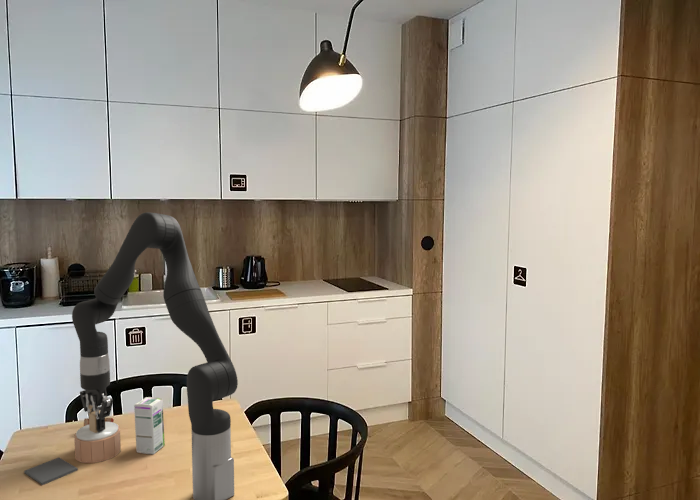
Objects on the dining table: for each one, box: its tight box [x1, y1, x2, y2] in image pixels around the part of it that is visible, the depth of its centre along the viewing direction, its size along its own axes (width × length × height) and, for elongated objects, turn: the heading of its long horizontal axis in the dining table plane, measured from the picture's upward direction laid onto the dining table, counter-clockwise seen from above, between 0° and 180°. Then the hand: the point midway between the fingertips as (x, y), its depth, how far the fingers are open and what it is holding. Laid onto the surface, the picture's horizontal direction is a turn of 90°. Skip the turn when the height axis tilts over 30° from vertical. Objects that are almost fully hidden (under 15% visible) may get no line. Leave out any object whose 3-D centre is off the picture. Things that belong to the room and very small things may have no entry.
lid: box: [76, 410, 119, 441], centre depth 150 cm, size 11×11×6 cm
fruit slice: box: [83, 417, 115, 427], centre depth 163 cm, size 8×7×5 cm
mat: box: [23, 457, 79, 486], centre depth 140 cm, size 10×9×1 cm
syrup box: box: [133, 396, 166, 455], centre depth 152 cm, size 6×6×14 cm
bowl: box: [73, 425, 122, 464], centre depth 150 cm, size 12×12×6 cm
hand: (97, 428), depth 150 cm, fingers closed on lid, 3 cm apart
